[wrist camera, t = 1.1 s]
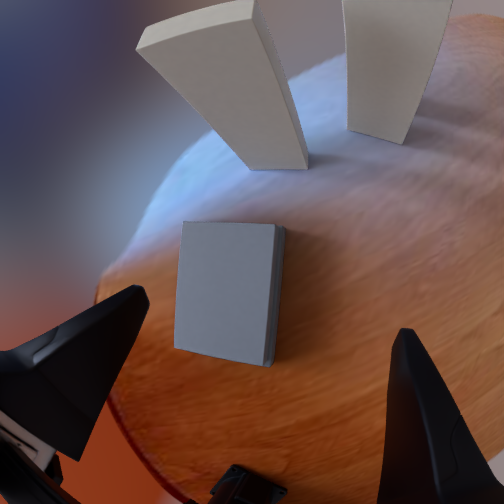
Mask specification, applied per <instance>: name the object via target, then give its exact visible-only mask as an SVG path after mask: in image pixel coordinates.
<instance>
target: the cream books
mask: <svg viewBox="0 0 504 504" xmlns="http://www.w3.org/2000/svg"><path fill="white" fill-rule="evenodd" d="M452 3H453V0H342V5H343V16H344V29H345V43H346V65H347V130H350V131H354V132H358V133H362V134H366V135H369V136H373V137H376V138H380V139H383V140H387V141H390V142H393V143H397V144H400V145H402V144H403V142H404V139H405V137H406V135H407V133H408V130H409V128H410V126H411V123H412V121H413V118H414V116H415V114H416V111H417V109H418V106H419V104H420V101H421V99H422V96H423V94H424V91H425V88H426V86H427V83H428V80H429V78H430V75H431V72H432V69H433V66H434V63H435V61H436V58H437V55H438V52H439V48H440V45H441V42H442V39H443V36H444V32H445V29H446V25H447V22H448V18H449V14H450V10H451V6H452Z"/></svg>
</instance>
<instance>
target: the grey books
mask: <svg viewBox="0 0 504 504" xmlns="http://www.w3.org/2000/svg"><path fill="white" fill-rule="evenodd" d="M285 233H286V229H285V228H284V227H283V226H277V225H275V224H258V223H228V222H187V221H183V225H182V234H181V244H180V255H179V266H178V279H177V294H176V311H175V333H174V348H178V349H182V350H186V351H190V352H194V353H198V354H203V355H207V356H212V357H216V358H221V359H226V360H231V361H236V362H242V363H247V364H253V365H259V366H265V367H271V365H272V364H273V363H274V356H275V346H276V337H277V327H278V317H279V306H280V295H281V284H282V272H283V260H284V247H285Z"/></svg>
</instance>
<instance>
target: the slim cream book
mask: <svg viewBox="0 0 504 504" xmlns="http://www.w3.org/2000/svg"><path fill="white" fill-rule="evenodd" d="M136 51H137V52H138V53H139V54H140V55H141V56H142V57H143V58H144V59H145V60H146V61H148V62H149V63H150V64H151V65H152V66H153V67H154V68H155V69H156V70H157V71H158V72H159V73H160V74H161V75H162V76H163V77H164V78H165V79H166V80H167V81H168V82H169V83H170V84H171V85H172V86H173V87H174V88H175V89H176V90H177V91H178V92H179V93H180V94H181V95H182V96H183V97H184V99H185V100H186V101H187V102H188V103H189V104H190V105H191V106H192V107H193V108H194V109H195V110H196V111H197V112H198V113H199V114H200V115H201V116H202V117H203V118H204V120H205V121H206V122H207V123H208V124H209V125H210V126H211V127H212V128H213V129H214V130H215V131H216V132H217V134H218V135H219V136H220V137H221V138H222V139H223V140H224V141H225V142H226V143H227V144H228V146H229V147H230V148H231V149H232V150H233V151H234V152H235V153H236V155H237V156H238V157H239V158H240V159H241V160H242V161H243V162H244V164H245V165H246V166H247V167H248V168H249V169H250V170H308V150H307V146H306V142H305V139H304V135H303V131H302V128H301V124H300V121H299V118H298V114H297V111H296V108H295V104H294V101H293V98H292V95H291V92H290V88H289V85H288V82H287V79H286V76H285V74H284V70H283V68H282V65H281V62H280V59H279V56H278V53H277V50H276V48H275V46H274V42H273V40H272V37H271V34H270V32H269V29H268V27H267V24H266V21H265V19H264V17H263V14H262V12H261V9H260V7H259V4H258V2H257V0H236V1H231V2H227V3H222V4H218V5H214V6H210V7H206V8H203V9H199V10H195V11H192V12H188V13H185V14H182V15H179V16H176V17H173V18H170V19H167V20H164V21H162V22H159V23H156V24H154V25H151V26H148V27H146V29H145V31H144V33H143V35H142V37H141V39H140V41H139V44H138V46H137V48H136Z"/></svg>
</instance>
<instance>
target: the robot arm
mask: <svg viewBox="0 0 504 504" xmlns="http://www.w3.org/2000/svg"><path fill="white" fill-rule="evenodd" d="M149 305H150V303H149V299H148V297H147V294H146V292H145V289H144V288H143V287H142V286H139V285H131V286H129V287H127V288H126V289H124V290H122V291H120V292H118V293H116V294H114V295H113V296H111V297H109V298H107V299H105V300H103V301H102V302H100V303H98V304H96V305H94V306H93V307H91V308H89V309H87V310H85V311H84V312H82V313H80V314H78V315H76V316H75V317H73V318H71V319H69V320H68V321H66V322H64V323H62V324H60V325H59V326H57V327H55V328H53V329H52V330H50V331H48V332H46V333H44V334H42V335H40V336H38V337H37V338H34V339H32V340H30V341H28V342H26V343H24V344H22V345H20V346H18V347H16V348H14V349H11V350H8V351H0V494H1V495H2V496H3V498H4V499H5V500H6V501H7V502H8V504H81V503H80V502H78V501H77V500H76V499H75V498H73V497H72V496H71V495H70V494H68V493H67V492H66V491H65V490H63V489H62V488H61V487H60V484H61V483H62V481H63V476H62V471H61V466H60V461H59V456H58V455H57V454H55V453H56V452H57V450H58V451H59V452H61V453H63V454H64V455H66V456H68V457H70V458H72V459H73V460H75V461H77V462H79V460H80V458H81V456H82V454H83V451H84V449H85V446H86V444H87V442H88V439H89V437H90V435H91V432H92V430H93V428H94V425H95V423H96V421H97V418H98V416H99V414H100V412H101V410H102V408H103V405H104V403H105V401H106V399H107V397H108V395H109V393H110V391H111V389H112V386H113V384H114V382H115V380H116V378H117V376H118V374H119V372H120V370H121V368H122V366H123V364H124V362H125V360H126V358H127V356H128V354H129V352H130V350H131V348H132V347H133V345H134V343H135V340H136V338H137V336H138V333H139V331H140V328H141V326H142V324H143V321H144V319H145V316H146V314H147V311H148V309H149ZM460 414H461V413H460V411H459V409H458V407H457V405H456V403H455V401H454V399H453V397H452V395H451V393H450V391H449V390H448V388H447V386H446V384H445V382H444V380H443V379H442V377H441V375H440V373H439V371H438V370H437V368H436V366H435V364H434V363H433V361H432V359H431V358H430V356H429V354H428V352H427V351H426V349H425V347H424V346H423V344H422V343H421V341H420V339H419V338H418V336H417V334H416V333H415V331H414V330H413V329H410V328H401V329H400V330H399V332H398V335H397V337H396V339H395V341H394V343H393V346H392V352H391V364H390V373H389V382H388V390H387V413H386V431H385V444H384V455H383V464H382V472H381V479H380V486H379V492H378V498H377V504H504V486H503V485H502V484H501V483H500V482H499V481H498V480H497V479H496V477H495V476H494V474H493V473H492V471H491V469H490V467H489V465H488V464H487V462H486V460H485V458H484V456H483V455H482V453H481V451H480V449H479V448H478V446H477V444H476V442H475V440H474V439H473V437H472V435H471V433H470V431H469V429H468V427H467V425H466V423H465V421H464V419H463V417H462V415H460ZM234 468H235V469H234ZM281 491H282V492H281ZM210 494H211V495H213V497H212V498H211V500H210V501H209V502H208V504H276V503H277V502H278V501H280V500H281V499H282V498H283V497H284V496H285V495H286V494H287V489H285V488H283V487H281V486H279V485H276V484H274V483H272V482H270V481H268V480H266V479H264V478H261V477H259V476H257V475H255V474H253V473H251V472H249V471H247V470H246V469H244V468H242V467H240V466H238V465H235V464H233V465H231V466H230V468H229V469H228V470H227V471H226V473H225V474H224V475H223V476H222V478H221V479H220V480H219V481H218V482H217V484H216V485H215V486H214V487H213V488H212V490H211V491H210ZM183 504H198V503H196V501H194V500H192V499H190V500H189V501H188V502H187V503H183Z"/></svg>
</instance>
